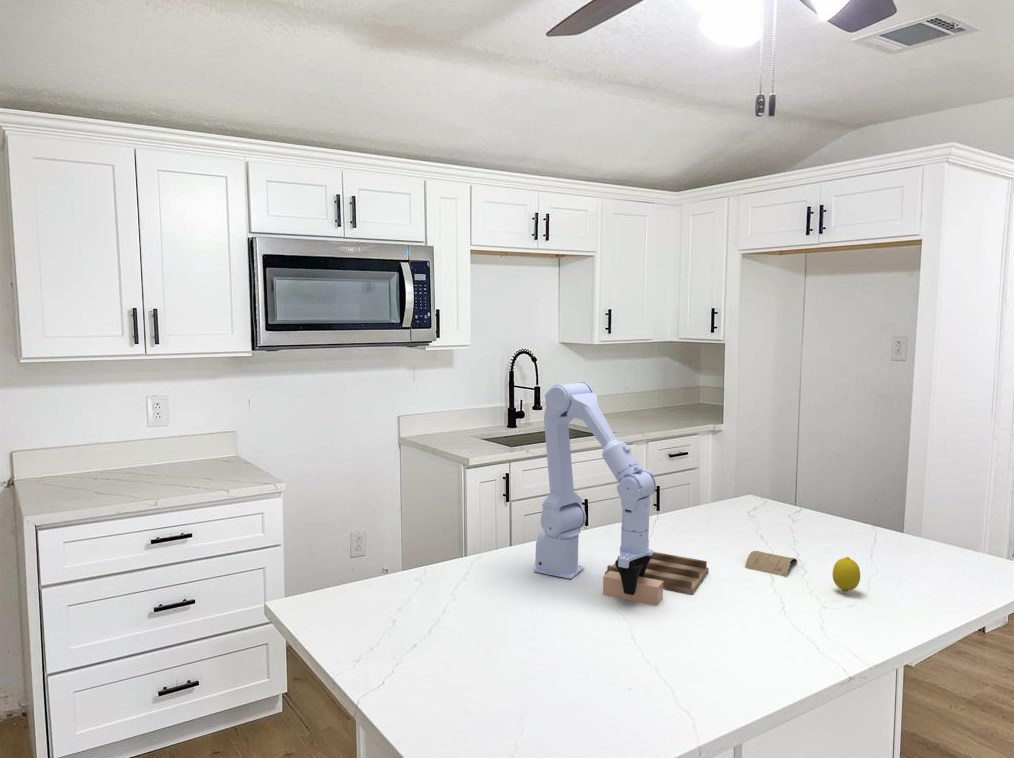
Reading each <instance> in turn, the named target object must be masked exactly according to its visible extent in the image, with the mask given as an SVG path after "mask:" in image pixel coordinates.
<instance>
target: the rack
mask: <svg viewBox="0 0 1014 758" xmlns="http://www.w3.org/2000/svg"><path fill="white" fill-rule="evenodd" d="M619 557H620V555H618V556H617V559H619ZM707 563H708V562H707V560H703V559H702V560H701V559H698V558H697V559H696V558H690V557H686V556H679V555H674V554H670V553H669V554H668V553H662V552H656V551H653V555H652V558H651V560H650V561H649V563H648V565H647V568H646V571H645V575H644V577H645V578H650V579H655V580H660V581H664V582H663V590H667V591H673V592H677V593H683V594H687V595H694V594H695V592H696V591H697V590H698V588H699V587H700V586H701V584H702V582H703V581H704V579H705V578H706V577H707V575H708V574H709V569H710V568H709V567H708V566H707V565H708V564H707ZM609 571H614V572H619V571H618V569H617V567H616V565H615V563H613V565H611V564H609V565H607V568H606V571H605V572H604V575H606V574H607V573H608V572H609Z"/></svg>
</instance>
